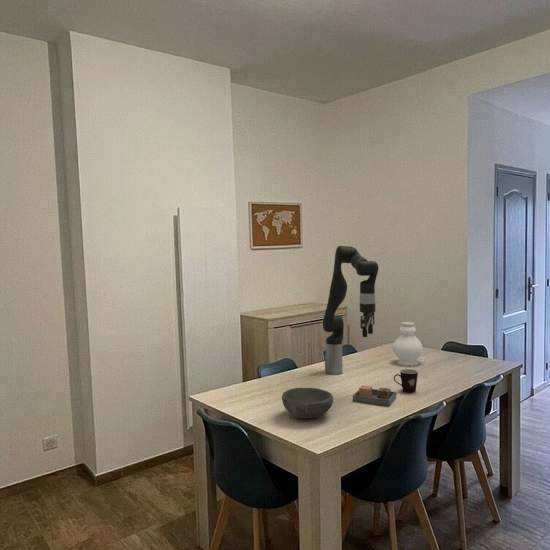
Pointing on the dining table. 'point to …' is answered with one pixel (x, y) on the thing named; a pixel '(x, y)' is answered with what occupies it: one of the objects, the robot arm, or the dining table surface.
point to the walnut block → (384, 393)
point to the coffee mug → (408, 380)
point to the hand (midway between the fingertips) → (367, 335)
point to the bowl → (307, 402)
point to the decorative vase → (407, 345)
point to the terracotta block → (365, 391)
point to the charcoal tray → (374, 398)
